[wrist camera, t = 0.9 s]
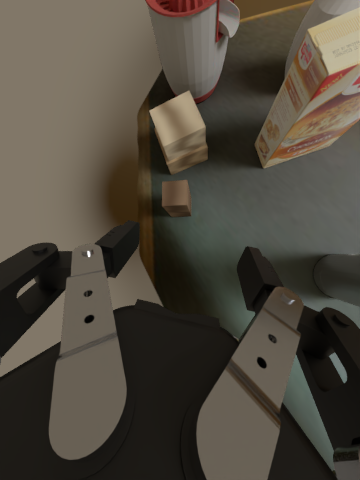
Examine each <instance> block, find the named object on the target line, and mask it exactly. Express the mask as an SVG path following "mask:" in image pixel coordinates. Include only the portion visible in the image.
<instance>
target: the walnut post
mask: <svg viewBox="0 0 360 480" xmlns="http://www.w3.org/2000/svg"><path fill="white" fill-rule="evenodd" d="M162 207H163V208H164V209H165V210H166V211H167V212H168V213H169V214H170V216H171V217H184V216H191V195H190V190H189V186H188V182H187V180H181V181H168V182H162Z"/></svg>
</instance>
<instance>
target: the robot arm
mask: <svg viewBox="0 0 360 480" xmlns="http://www.w3.org/2000/svg"><path fill="white" fill-rule="evenodd" d="M138 244H139V223H138V222H134V221H127V222H126V223H125V224H124V225H120V226H117V227H115V228H113V229H112V230H111V231H110V232H108V233H107V234H106V235H105V236H103V237H102V238H101V239H100V240H98V241H97V242H96V243H95V244H85V245H82V246H79V247H77V248H75V249H74V250H73V251H58V248H57V246H56V245H55V244H53V243H40V244H35V245H32V246H29V247H27V248H26V249H24V250H22V251H20V252H19V253H17V254H15V255H14V256H12V257H10V258H8V259H7V260H5V261H3V262H1V263H0V363H1V358H2V356H4V355H5V353H6V352H7V351H8V350H9V349H10V348H11V347H12V346H13V345H14V344H15V343H16V342H17V341H18V340H19V339H20V337H21V336H22V335H23V334H24V333H25V332H26V331H27V330H28V329H29V328H30V327H31V326H32V324H34V322H35V321H36V320H37V319H38V318H39V317H40V316H41V315H42V314H43V313H44V312H45V311H46V310H47V308H48V307H49V306H50V305H51V304H52V303H53V302H54V301H55V300H56V299H57V298H58V297H59V296H60V295H61V293H62V292H63V291H64V290H65V289H66V292H65V303H64V314H63V325H62V337H61V341H60V342H59V343H57V344H55V345H54V346H52V347H50V348H49V349H47V350H45V351H44V352H42V353H40V354H39V355H37V356H35V357H34V358H32V359H30V360H29V361H27V362H25V363H23V364H22V365H20V366H18V367H17V368H15V369H13V370H12V371H10V372H8V373H7V374H5V375H3V376H2V377H0V480H360V329H359V328H358V327H357V325H356V324H355V323H354V322H353V321H352V320H351V319H350V318H348V317H347V316H346V315H344V314H343V313H341V312H339V311H337V310H335V309H333V308H328V307H326V308H323V309H322V310H321V311H320V312H317V311H315V310H313V309H311V308H309V307H306V306H304V304H303V302H302V300H301V299H300V297H299V296H298V295H297V294H295V293H294V292H293V291H291V290H289V289H287V288H284V286H283V284H282V282H281V281H280V279H279V277H278V275H277V274H276V272H275V270H274V269H273V267H272V265H271V263H270V262H269V261H268V260H267V259H266V258H265V257H263V256H262V254H261V252H260V251H259V249H257V248H253V247H248V246H247V247H246V248H245V250H244V252H243V254H242V256H241V258H240V260H239V262H238V265H237V272H238V276H239V280H240V284H241V288H242V292H243V296H244V300H245V304H246V308H247V310H250V311H254V312H255V314H256V315H255V316H254V317H253V319H252V320H251V322H250V323H249V325H248V326H247V328H246V329H245V331H244V332H243V334H242V336H241V337H240V339H239V340H237V339H236V338H235V337H234V336H233V335H232V334H230V333H229V332H228V331H227V330H225V329H224V328H222V327H220V325H219V319H218V318H214V317H210V316H206V315H201V314H176V313H174V312H172V311H170V310H168V309H166V308H164V307H162V306H160V305H159V304H156V303H151V302H148V301H143V300H139V299H138V300H137V302H136V304H135V305H131V306H125V307H121V308H118V309H115V310H113V309H112V303H111V298H110V292H109V286H108V281H107V278H108V277H113V278H116V276H117V275H118V274H119V272H120V271H121V269H122V268H123V267H124V265H125V264H126V263H127V261H128V260H129V258H130V257H131V256H132V254H133V253H134V251H135V250H136V249H137V247H138ZM313 276H314V280H315V283H316V285H317V286H318V288H319V289H320V290H321V291H322V292H323V293H325V294H326V295H328V296H330V297H333V298H336V299H338V300H341V301H344V302H347V303H350V304H353V305H356V306H359V307H360V254H333V255H328V256H325V257H323V258H322V259H320V260H319V261H318V262H317V264H316V266H315V268H314V274H313ZM33 278H34V279H35V281H36V283H35V284H34V285H33V286H31V287H30V288H29V289H28V290H27V291H25V292H24V293H23V294H22V295H21V296H19V297H18V298H16V297H17V293H18V291H19V290H20V289H21V288H22V287H23V286H24V285H26V284H27V283H28V282H29V281H31V280H32V279H33ZM334 352H335V353H336V354H337V356H338V358H339V360H340V361H341V363H342V365H343V366H344V368H345V370H346V372H347V381H346V383H343V381H342V379H341V377H340V376H339V374H338V372H337V370H336V368H335V366H334V365H333V363H332V361H331V359H330V357H329V356H330V355H331V354H333V353H334ZM295 354H296V355H297V358H298V360H299V363H300V365H301V368H302V370H303V373H304V375H305V378H306V381H307V383H308V386H309V388H310V391H311V393H312V396H313V398H314V401H315V404H316V406H317V409H318V411H319V414H320V416H321V419H322V421H323V424H324V427H325V429H326V432H327V434H328V437H329V439H330V442H331V444H332V447H333V450H334V454H333V463H334V468H335V470H333V471H331V469H330V468H329V466H328V465H327V464H326V462H325V461H324V459H323V458H322V457H321V455H320V454H319V452H318V451H317V450H316V448H315V447H314V445H313V444H312V443H311V441H310V440H309V438H308V437H307V436H306V434H305V433H304V431H303V430H302V429H301V427H300V426H299V425H298V423H297V422H296V420H295V419H294V418H293V416H292V415H291V413H290V412H289V411H288V409H287V408H286V406H285V405H284V404H283V402H282V400H283V397H284V393H285V390H286V386H287V383H288V379H289V376H290V372H291V368H292V365H293V361H294V358H295Z"/></svg>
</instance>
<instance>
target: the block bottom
mask: <svg viewBox="0 0 360 480" xmlns="http://www.w3.org/2000/svg"><path fill="white" fill-rule="evenodd" d="M154 130H155V133H156V136H157V138H158V141H159V144H160V146H161V149H162V152H163V155H164V157H165V160H166V163H167V165H168V168H169V170H170V173H171V175H173V174H175V173H177V172H180V171H182V170H184V169H187V168H189V167H191V166H194V165H196V164H198V163H201V162H203V161H205V160H207V158H208V146H207V144H206V141H205V145H204V146H202V147H200V148H198V149H195V150H193V151H191V152H189V153H187V154H185V155H182V156H180V157H178V158H176V159H174V160H172V161H169V160H168V157H167V155H166V152H165V150H164V147H163V145H162V142H161V140H160V137H159V135H158V132H157V130H156V129H154Z"/></svg>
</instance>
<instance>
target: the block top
mask: <svg viewBox="0 0 360 480" xmlns="http://www.w3.org/2000/svg"><path fill="white" fill-rule="evenodd" d="M150 114H151V117H152V119H153V122H154V124H155V127H156V130H157V132H158V135H159V137H160V140H161V142H162V145H163V147H164V150H165V152H166V155H167V157H168V160H169V161H172V160H174V159H176V158H178V157H180V156H182V155H185V154H187V153H189V152H191V151H193V150H195V149H198V148H200V147H202V146H204V145H205V137H206V126H205V124H204V122H203V120H202V118H201V115H200V113H199V111H198V109H197V106H196V104H195V102H194V100H193V98H192V95H191V93H190V91H187V92H185V93H183V94H181V95H179V96H177V97H175V98H173V99H171V100H169V101H167V102H165V103H163V104H161V105H159V106H157V107H156V108H154V109H152V110H150Z"/></svg>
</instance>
